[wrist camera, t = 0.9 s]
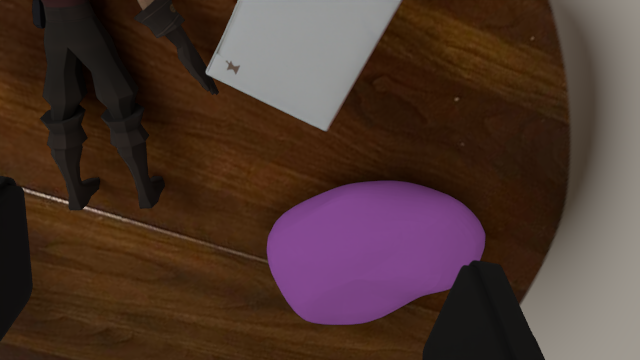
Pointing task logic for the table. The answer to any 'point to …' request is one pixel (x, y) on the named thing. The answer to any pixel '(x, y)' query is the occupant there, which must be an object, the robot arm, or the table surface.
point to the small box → (300, 52)
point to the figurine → (102, 88)
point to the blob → (370, 249)
